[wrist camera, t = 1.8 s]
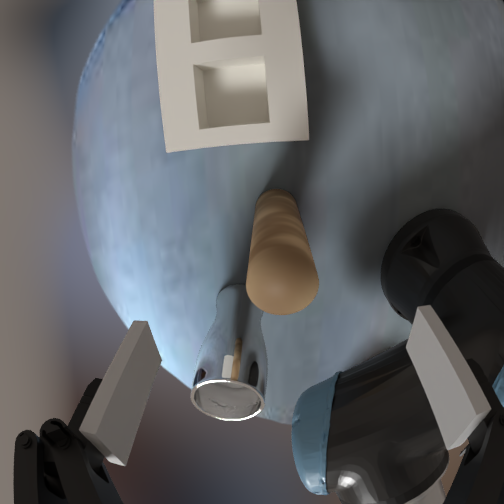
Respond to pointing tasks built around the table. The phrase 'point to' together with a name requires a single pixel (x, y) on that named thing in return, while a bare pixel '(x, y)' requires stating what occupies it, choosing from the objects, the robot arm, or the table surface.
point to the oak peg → (280, 257)
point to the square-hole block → (230, 72)
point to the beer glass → (232, 360)
